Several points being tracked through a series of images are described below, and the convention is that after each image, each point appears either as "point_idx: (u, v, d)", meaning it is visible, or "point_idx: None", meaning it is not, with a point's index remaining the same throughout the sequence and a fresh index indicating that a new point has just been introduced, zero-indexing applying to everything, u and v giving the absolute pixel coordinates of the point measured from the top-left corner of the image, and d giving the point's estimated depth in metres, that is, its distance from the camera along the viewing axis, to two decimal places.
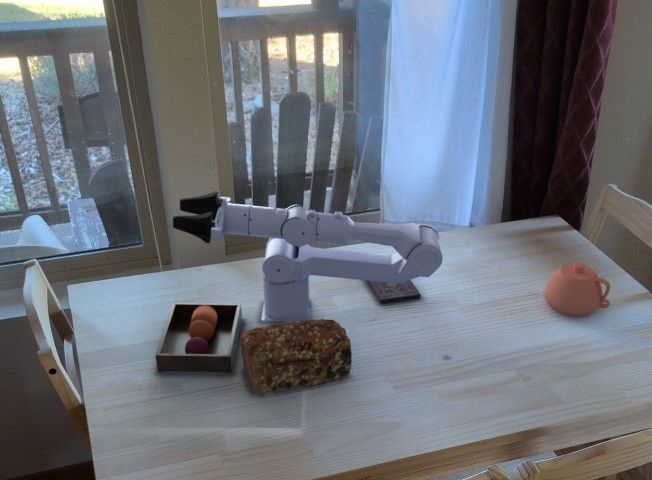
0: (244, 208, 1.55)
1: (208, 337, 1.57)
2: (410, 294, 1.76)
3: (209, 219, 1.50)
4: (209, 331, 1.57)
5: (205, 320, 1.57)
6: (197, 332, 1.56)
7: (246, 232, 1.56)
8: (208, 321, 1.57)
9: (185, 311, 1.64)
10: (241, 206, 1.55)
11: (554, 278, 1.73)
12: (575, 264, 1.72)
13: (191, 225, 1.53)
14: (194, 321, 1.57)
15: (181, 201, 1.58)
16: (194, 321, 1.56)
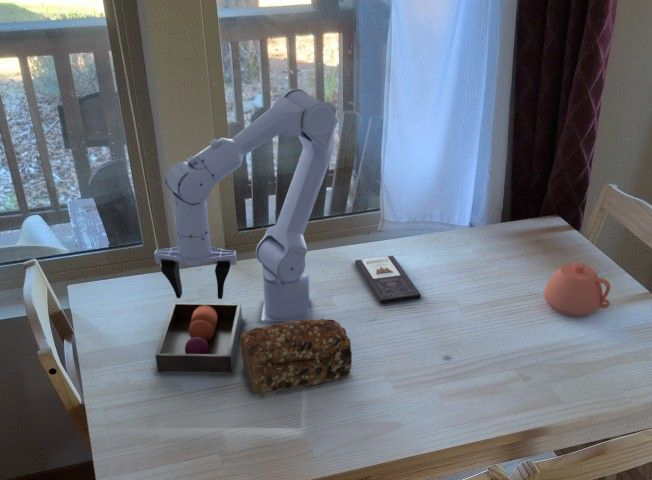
0: (195, 242, 1.46)
1: (208, 337, 1.57)
2: (410, 294, 1.76)
3: (228, 270, 1.50)
4: (209, 331, 1.57)
5: (205, 320, 1.57)
6: (197, 332, 1.56)
7: None
8: (208, 321, 1.57)
9: (185, 311, 1.64)
10: (192, 245, 1.47)
11: (554, 278, 1.73)
12: (575, 264, 1.72)
13: None
14: (194, 321, 1.57)
15: (180, 296, 1.55)
16: (194, 321, 1.56)
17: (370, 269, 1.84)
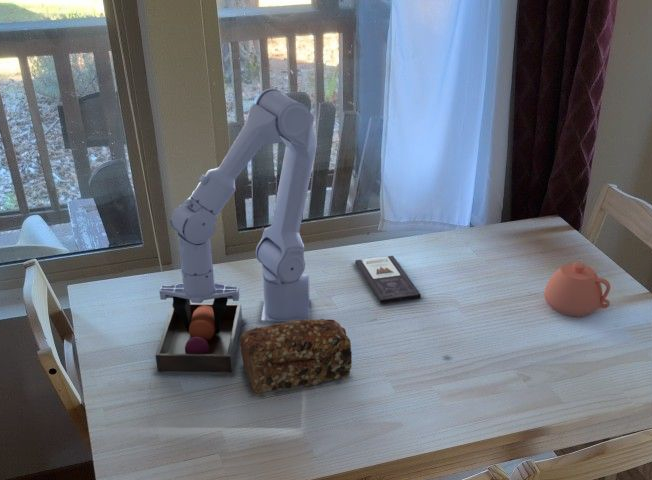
0: (199, 280, 1.51)
1: (208, 337, 1.57)
2: (410, 294, 1.76)
3: (225, 306, 1.55)
4: (209, 331, 1.57)
5: (205, 320, 1.57)
6: (197, 332, 1.56)
7: None
8: (208, 321, 1.57)
9: None
10: (196, 283, 1.51)
11: (554, 278, 1.73)
12: (575, 264, 1.72)
13: None
14: (194, 321, 1.57)
15: None
16: (195, 321, 1.56)
17: (370, 269, 1.84)
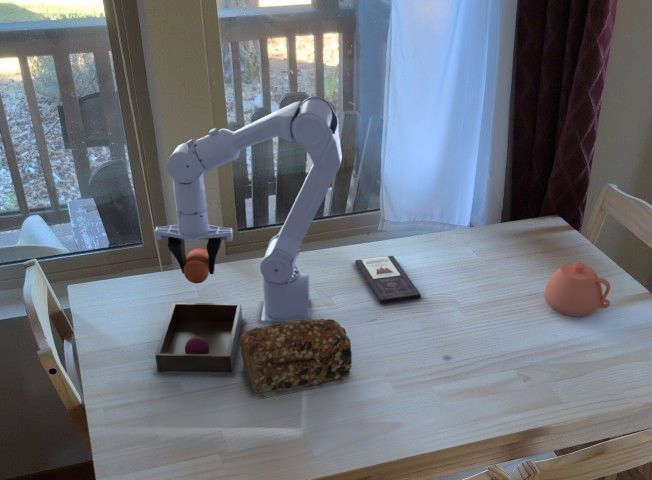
0: (193, 219, 1.55)
1: (202, 277, 1.61)
2: (410, 294, 1.76)
3: (218, 246, 1.60)
4: (204, 271, 1.61)
5: (199, 261, 1.61)
6: (192, 271, 1.60)
7: None
8: (203, 262, 1.62)
9: (185, 311, 1.64)
10: (191, 222, 1.56)
11: (554, 278, 1.73)
12: (575, 264, 1.72)
13: None
14: (189, 261, 1.61)
15: None
16: (189, 261, 1.61)
17: (370, 269, 1.84)
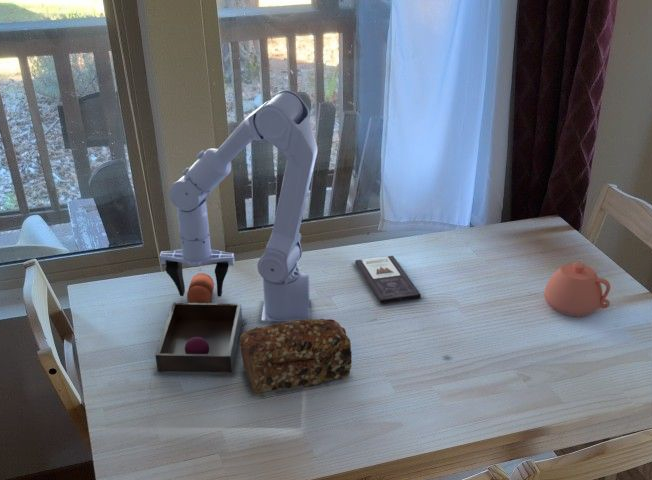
0: (196, 245, 1.62)
1: (205, 302, 1.68)
2: (410, 294, 1.76)
3: (226, 270, 1.66)
4: (206, 296, 1.68)
5: (202, 286, 1.68)
6: (194, 297, 1.67)
7: None
8: (205, 287, 1.68)
9: (185, 311, 1.64)
10: (194, 248, 1.62)
11: (554, 278, 1.73)
12: (575, 264, 1.72)
13: None
14: (192, 287, 1.68)
15: (183, 294, 1.70)
16: (192, 287, 1.68)
17: (370, 269, 1.84)
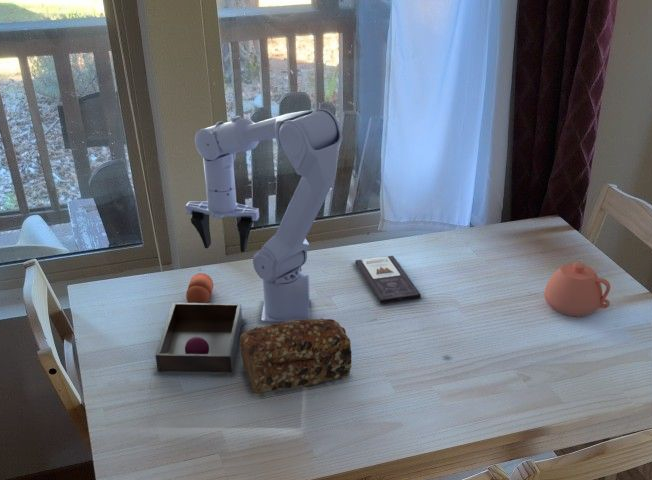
0: (220, 196, 1.62)
1: (204, 301, 1.68)
2: (410, 294, 1.76)
3: (249, 225, 1.65)
4: (205, 295, 1.68)
5: (200, 286, 1.68)
6: (193, 297, 1.67)
7: None
8: (203, 286, 1.68)
9: (185, 311, 1.64)
10: (217, 199, 1.62)
11: (554, 278, 1.73)
12: (575, 264, 1.72)
13: None
14: (190, 287, 1.68)
15: (208, 246, 1.71)
16: (191, 287, 1.68)
17: (370, 269, 1.84)
